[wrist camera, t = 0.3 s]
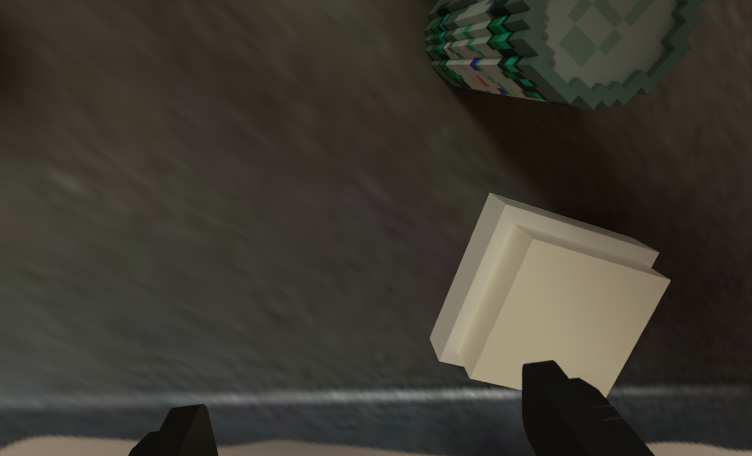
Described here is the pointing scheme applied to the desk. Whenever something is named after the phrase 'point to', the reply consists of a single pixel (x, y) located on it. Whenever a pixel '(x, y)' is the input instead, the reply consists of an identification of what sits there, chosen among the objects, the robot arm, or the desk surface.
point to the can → (560, 47)
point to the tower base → (546, 297)
